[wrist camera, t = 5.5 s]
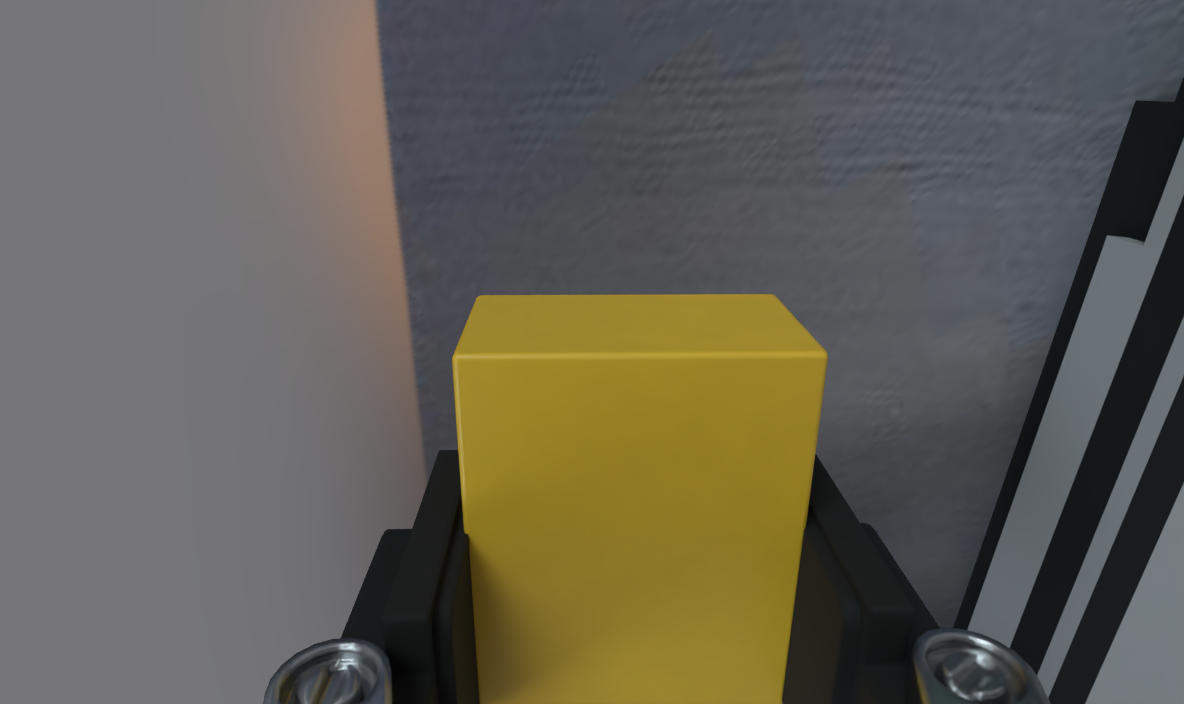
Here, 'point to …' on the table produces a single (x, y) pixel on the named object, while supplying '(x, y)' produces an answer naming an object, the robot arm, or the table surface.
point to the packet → (635, 494)
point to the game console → (1104, 455)
